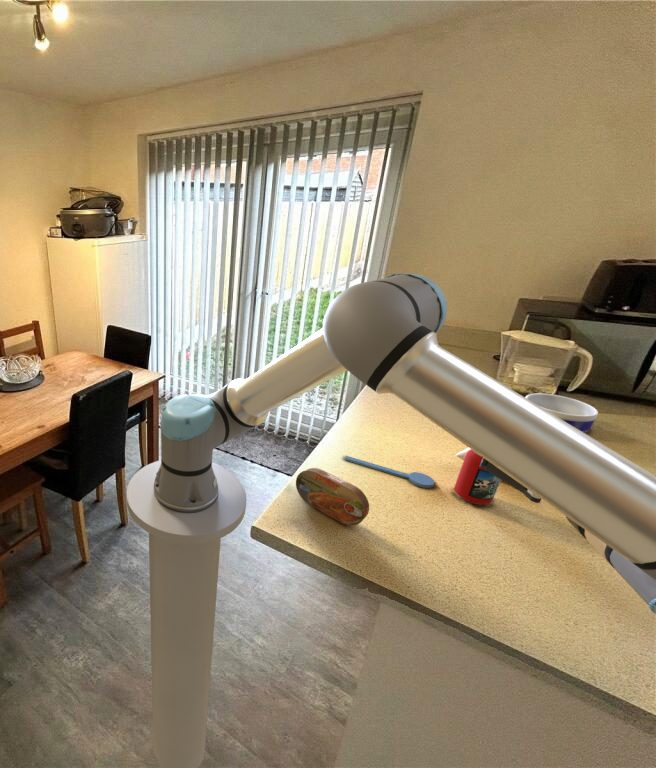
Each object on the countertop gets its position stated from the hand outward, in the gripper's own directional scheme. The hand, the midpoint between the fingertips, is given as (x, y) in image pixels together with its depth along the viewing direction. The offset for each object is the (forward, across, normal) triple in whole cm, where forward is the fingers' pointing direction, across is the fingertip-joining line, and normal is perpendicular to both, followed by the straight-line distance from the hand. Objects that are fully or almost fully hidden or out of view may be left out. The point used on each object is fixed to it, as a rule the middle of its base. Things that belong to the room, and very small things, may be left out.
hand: (527, 444), depth 71 cm
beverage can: (+10, 0, -20) cm, 22 cm away
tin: (-4, -31, -20) cm, 37 cm away
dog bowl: (+55, +38, -20) cm, 70 cm away
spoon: (+15, -15, -20) cm, 29 cm away
